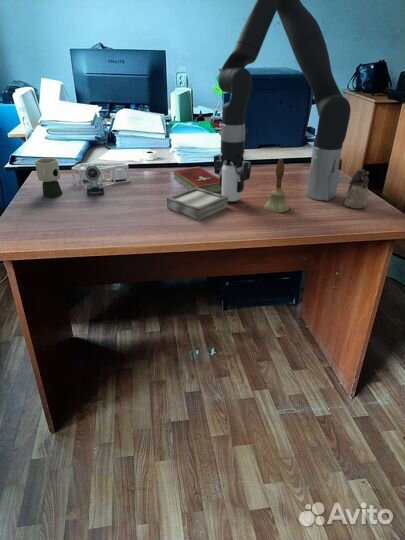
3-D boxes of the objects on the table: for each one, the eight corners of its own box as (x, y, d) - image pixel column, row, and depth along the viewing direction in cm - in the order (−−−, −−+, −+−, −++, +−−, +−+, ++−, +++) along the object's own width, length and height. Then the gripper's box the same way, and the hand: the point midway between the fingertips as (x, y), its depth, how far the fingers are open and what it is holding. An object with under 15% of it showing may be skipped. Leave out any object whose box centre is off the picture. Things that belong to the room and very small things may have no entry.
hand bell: (270, 213, 127) (275, 164, 119) (260, 204, 134) (264, 156, 125) (293, 211, 129) (300, 162, 120) (282, 202, 136) (288, 154, 127)
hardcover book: (199, 176, 161) (199, 165, 158) (226, 192, 145) (226, 181, 142) (172, 180, 156) (172, 169, 154) (196, 197, 140) (196, 186, 138)
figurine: (356, 199, 138) (363, 165, 131) (370, 207, 132) (379, 171, 126) (339, 202, 135) (346, 167, 129) (353, 209, 130) (361, 173, 124)
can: (241, 202, 132) (242, 166, 126) (221, 202, 132) (222, 166, 126) (239, 195, 138) (241, 160, 132) (221, 195, 138) (221, 160, 132)
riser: (227, 207, 131) (227, 197, 129) (198, 220, 122) (198, 209, 120) (196, 197, 139) (196, 187, 137) (167, 208, 130) (166, 197, 128)
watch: (87, 199, 136) (83, 168, 131) (88, 191, 143) (83, 161, 137) (104, 198, 138) (100, 167, 132) (104, 190, 144) (100, 160, 139)
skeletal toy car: (131, 179, 156) (129, 160, 152) (128, 188, 146) (126, 169, 143) (79, 179, 155) (76, 161, 151) (73, 189, 145) (69, 169, 142)
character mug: (60, 203, 133) (52, 164, 127) (38, 203, 133) (29, 165, 126) (67, 192, 143) (61, 155, 136) (47, 192, 142) (39, 156, 136)
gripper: (258, 139, 123) (255, 191, 132) (222, 133, 131) (221, 182, 140) (244, 144, 118) (241, 197, 127) (207, 137, 127) (207, 187, 135)
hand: (231, 189), depth 133 cm, fingers closed on can, 6 cm apart
